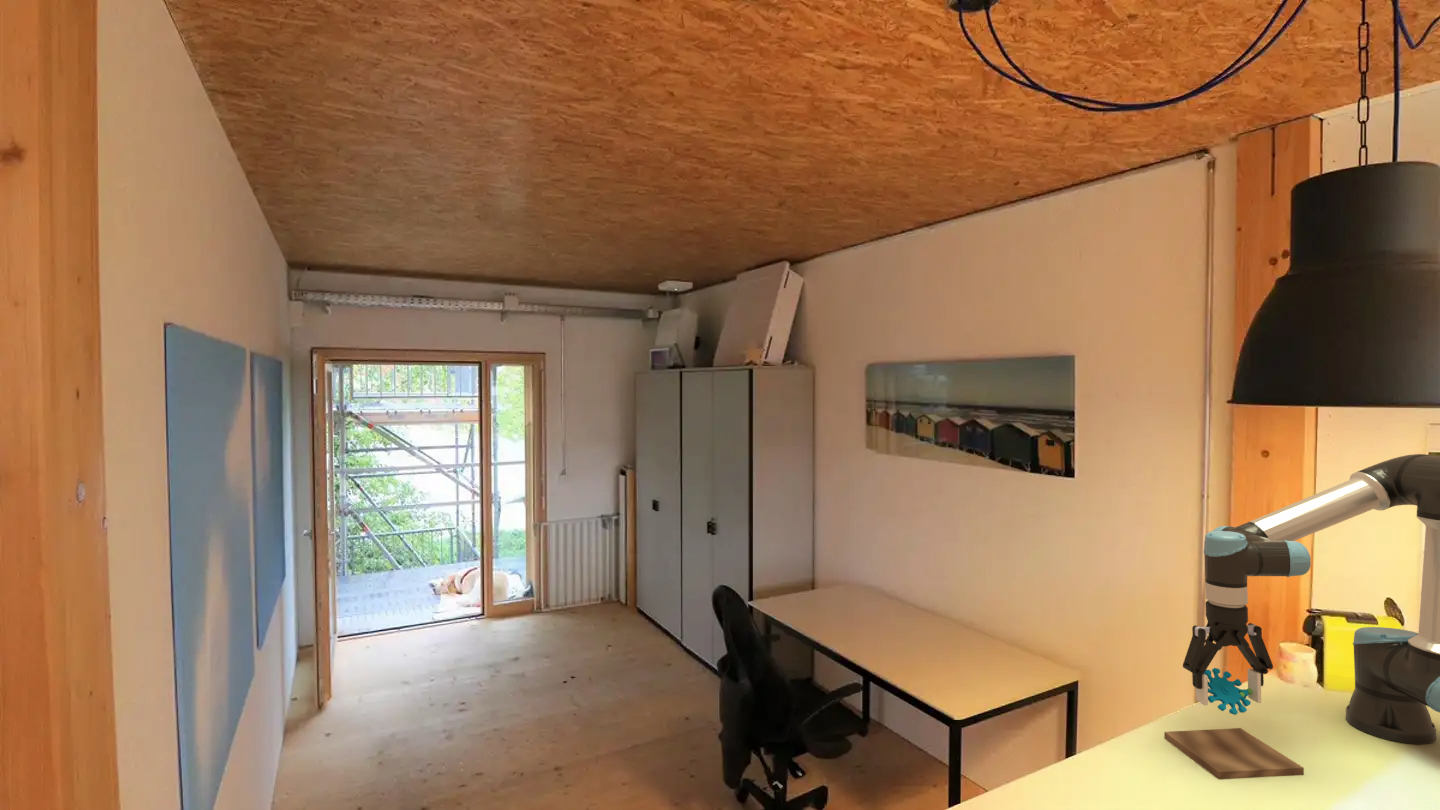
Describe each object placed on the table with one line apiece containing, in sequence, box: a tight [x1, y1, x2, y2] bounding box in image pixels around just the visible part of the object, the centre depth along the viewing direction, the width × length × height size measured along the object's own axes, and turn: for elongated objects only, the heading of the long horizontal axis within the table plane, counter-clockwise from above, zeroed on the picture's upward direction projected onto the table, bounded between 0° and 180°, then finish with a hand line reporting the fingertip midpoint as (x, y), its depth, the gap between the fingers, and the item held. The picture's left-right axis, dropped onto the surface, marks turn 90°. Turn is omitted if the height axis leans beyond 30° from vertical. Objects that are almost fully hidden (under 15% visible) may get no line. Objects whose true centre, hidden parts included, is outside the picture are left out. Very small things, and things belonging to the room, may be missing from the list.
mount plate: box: [1164, 727, 1305, 780], centre depth 151 cm, size 18×17×2 cm
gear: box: [1204, 667, 1253, 716], centre depth 153 cm, size 11×6×10 cm
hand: (1228, 701), depth 151 cm, fingers closed on gear, 11 cm apart
